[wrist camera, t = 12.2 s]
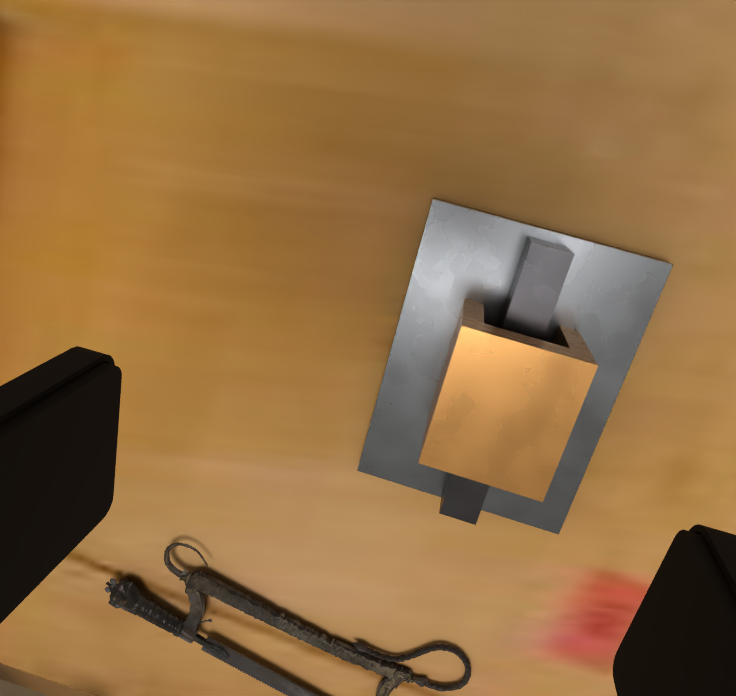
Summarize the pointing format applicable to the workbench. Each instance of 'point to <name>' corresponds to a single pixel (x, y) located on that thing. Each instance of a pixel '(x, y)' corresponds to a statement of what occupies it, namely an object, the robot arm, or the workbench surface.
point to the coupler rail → (484, 279)
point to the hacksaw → (200, 582)
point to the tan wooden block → (506, 404)
